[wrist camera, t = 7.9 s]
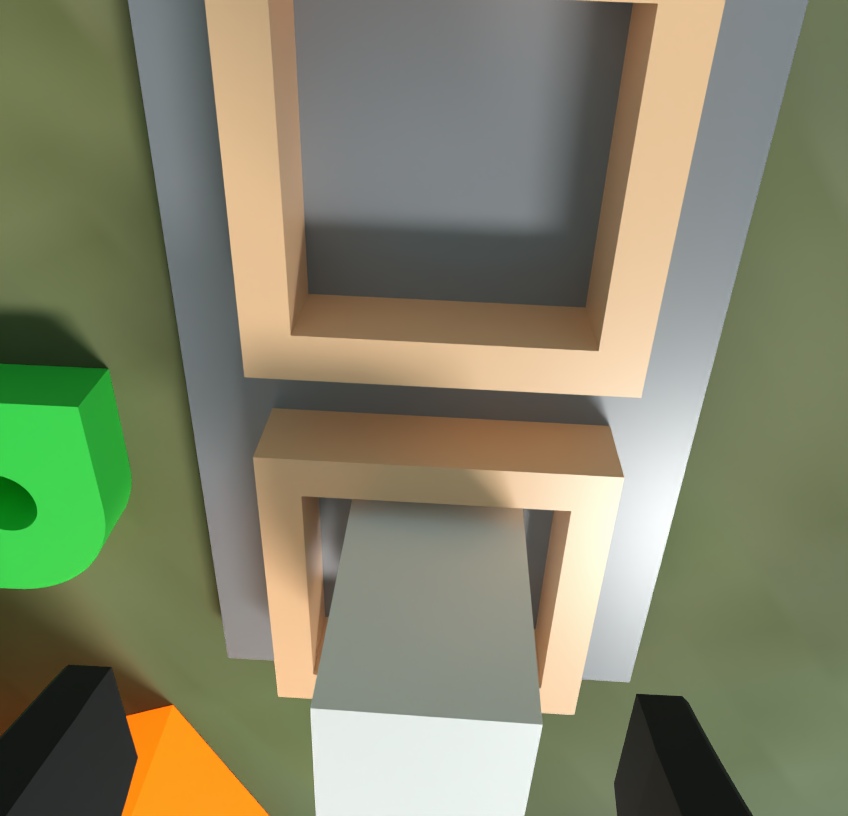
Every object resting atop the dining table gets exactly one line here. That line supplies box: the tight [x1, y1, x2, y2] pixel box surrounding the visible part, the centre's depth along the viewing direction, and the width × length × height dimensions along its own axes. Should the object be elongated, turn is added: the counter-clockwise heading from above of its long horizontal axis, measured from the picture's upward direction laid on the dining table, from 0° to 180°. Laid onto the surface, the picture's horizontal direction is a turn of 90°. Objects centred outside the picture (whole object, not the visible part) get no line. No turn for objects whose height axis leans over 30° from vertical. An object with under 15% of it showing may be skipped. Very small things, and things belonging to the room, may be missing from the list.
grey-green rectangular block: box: [310, 499, 543, 816], centre depth 17 cm, size 4×4×7 cm
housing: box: [128, 0, 808, 715], centre depth 17 cm, size 12×20×3 cm, turn 178°
